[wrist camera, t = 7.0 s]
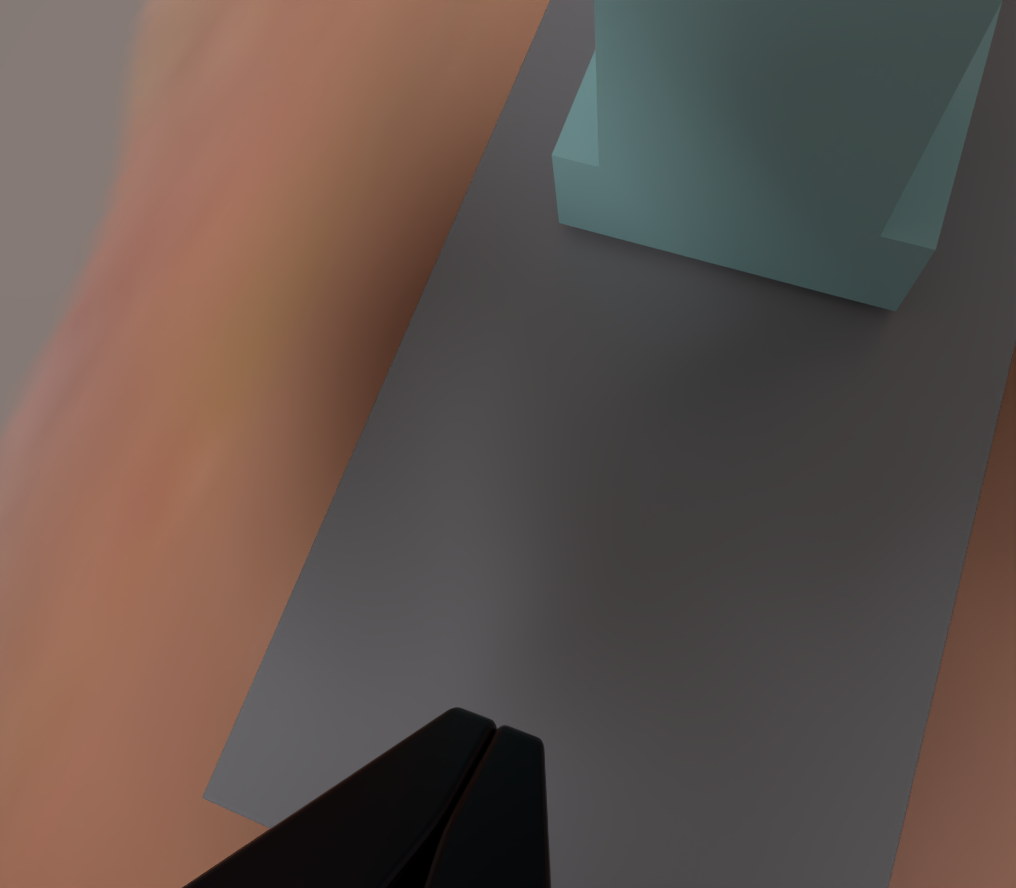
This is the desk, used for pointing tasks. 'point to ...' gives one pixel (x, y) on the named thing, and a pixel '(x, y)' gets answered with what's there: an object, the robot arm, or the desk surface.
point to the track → (655, 525)
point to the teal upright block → (777, 134)
